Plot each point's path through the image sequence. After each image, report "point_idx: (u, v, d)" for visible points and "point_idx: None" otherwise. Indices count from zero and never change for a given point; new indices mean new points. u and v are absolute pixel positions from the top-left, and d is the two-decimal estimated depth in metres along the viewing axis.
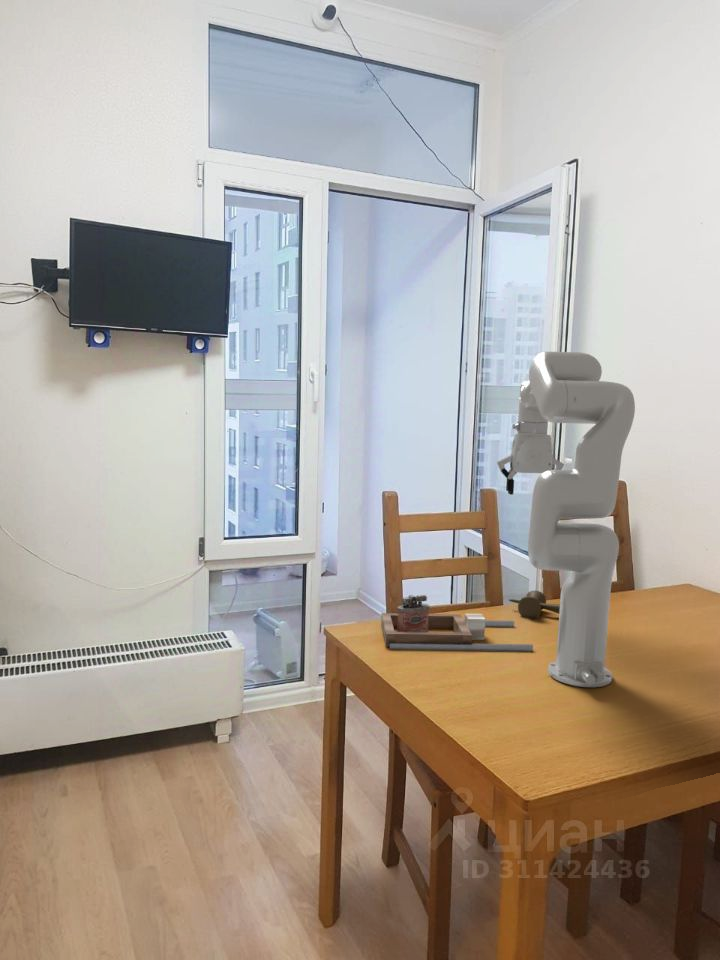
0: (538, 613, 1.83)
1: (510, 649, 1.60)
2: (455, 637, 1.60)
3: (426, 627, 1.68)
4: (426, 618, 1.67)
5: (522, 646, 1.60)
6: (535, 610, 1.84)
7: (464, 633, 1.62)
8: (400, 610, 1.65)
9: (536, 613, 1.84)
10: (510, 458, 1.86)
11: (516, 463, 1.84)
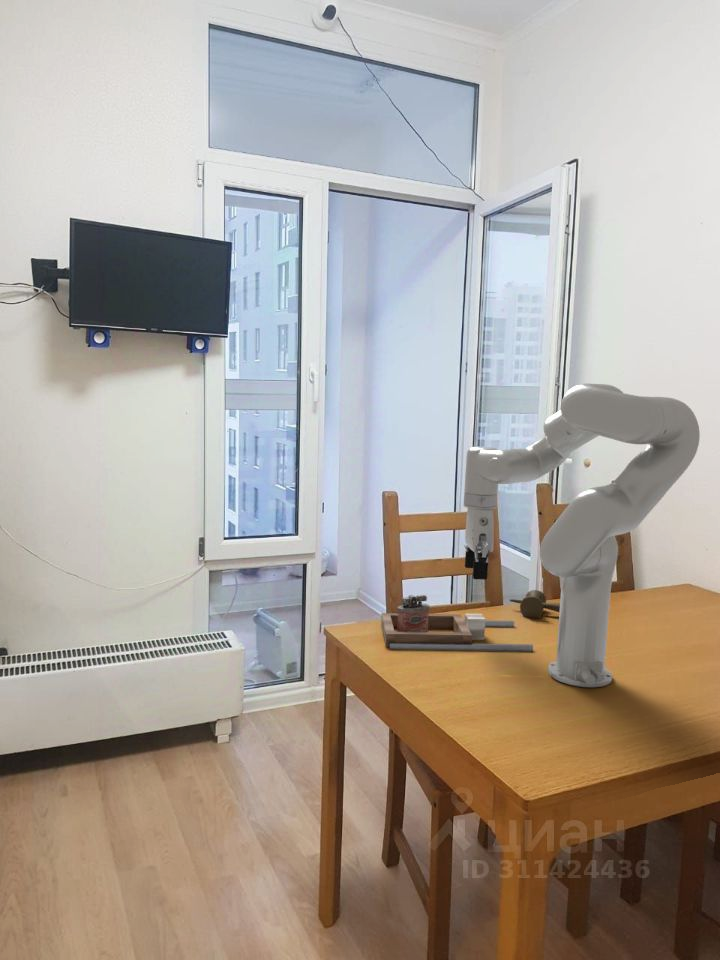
0: (540, 613, 1.84)
1: (510, 649, 1.60)
2: (455, 637, 1.60)
3: (426, 627, 1.68)
4: (426, 618, 1.67)
5: (522, 646, 1.60)
6: (537, 610, 1.84)
7: (464, 633, 1.62)
8: (400, 610, 1.65)
9: (538, 613, 1.84)
10: None
11: None
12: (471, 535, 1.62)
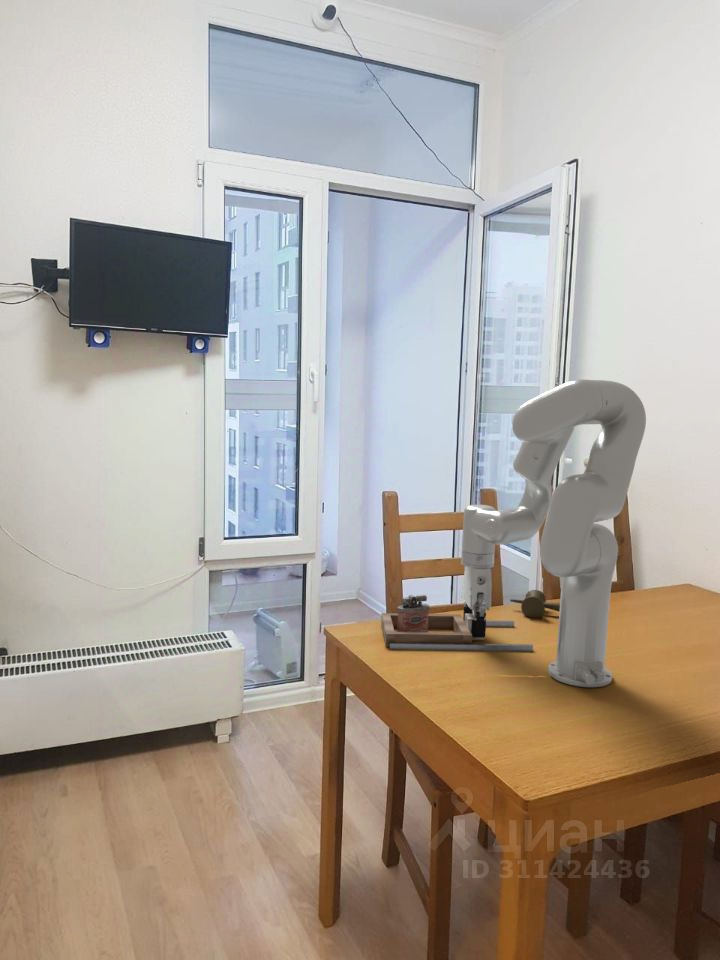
0: (542, 612, 1.84)
1: (510, 649, 1.60)
2: (455, 637, 1.60)
3: (426, 627, 1.68)
4: (426, 618, 1.67)
5: (522, 646, 1.60)
6: (539, 610, 1.84)
7: (464, 633, 1.62)
8: (400, 610, 1.65)
9: (540, 612, 1.84)
10: None
11: (490, 601, 1.63)
12: (469, 593, 1.64)
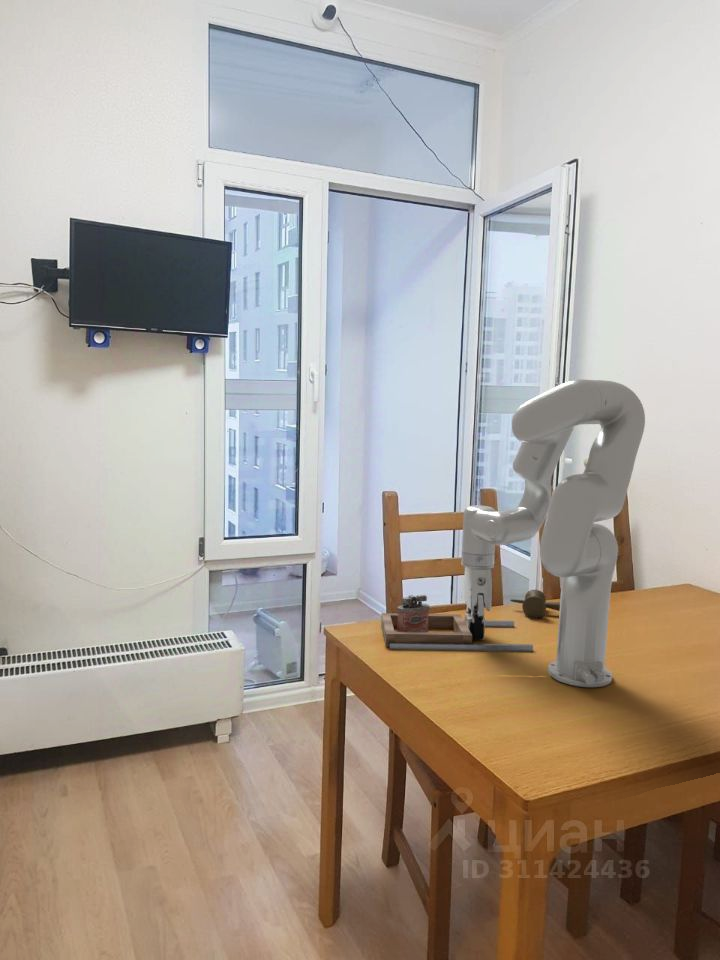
0: (543, 612, 1.84)
1: (510, 649, 1.60)
2: (455, 637, 1.60)
3: (426, 627, 1.68)
4: (426, 618, 1.67)
5: (522, 646, 1.60)
6: (540, 610, 1.84)
7: (464, 633, 1.62)
8: (400, 610, 1.65)
9: (541, 612, 1.84)
10: None
11: None
12: (469, 594, 1.64)
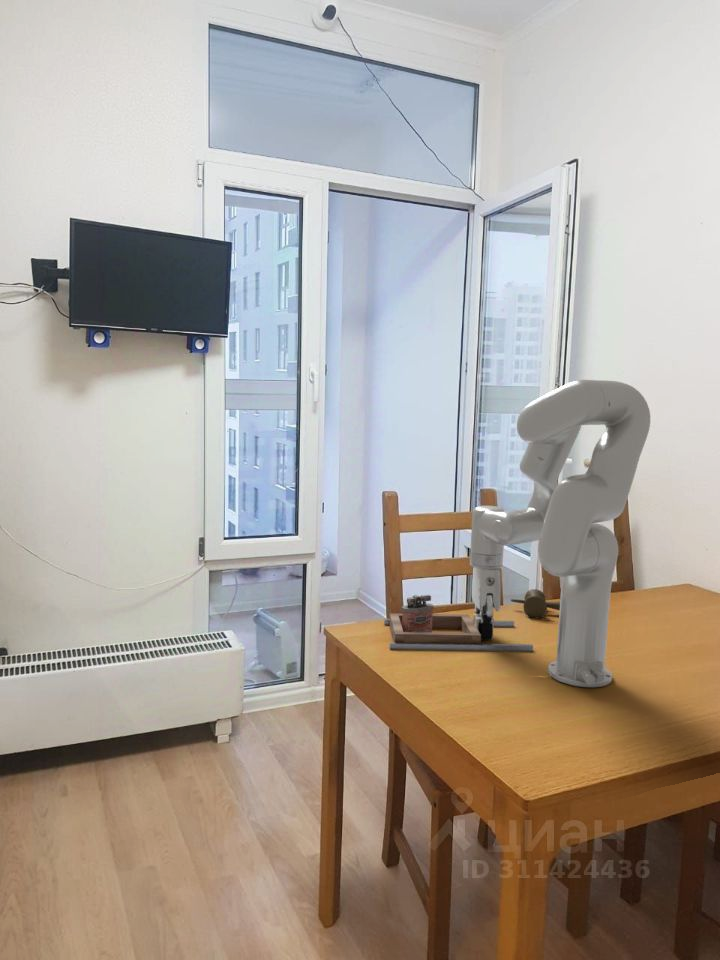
0: (544, 612, 1.85)
1: (510, 649, 1.60)
2: (464, 637, 1.61)
3: (430, 627, 1.68)
4: (430, 618, 1.68)
5: (522, 646, 1.60)
6: (541, 609, 1.85)
7: (473, 633, 1.62)
8: (405, 610, 1.65)
9: (542, 612, 1.85)
10: None
11: None
12: (478, 594, 1.64)
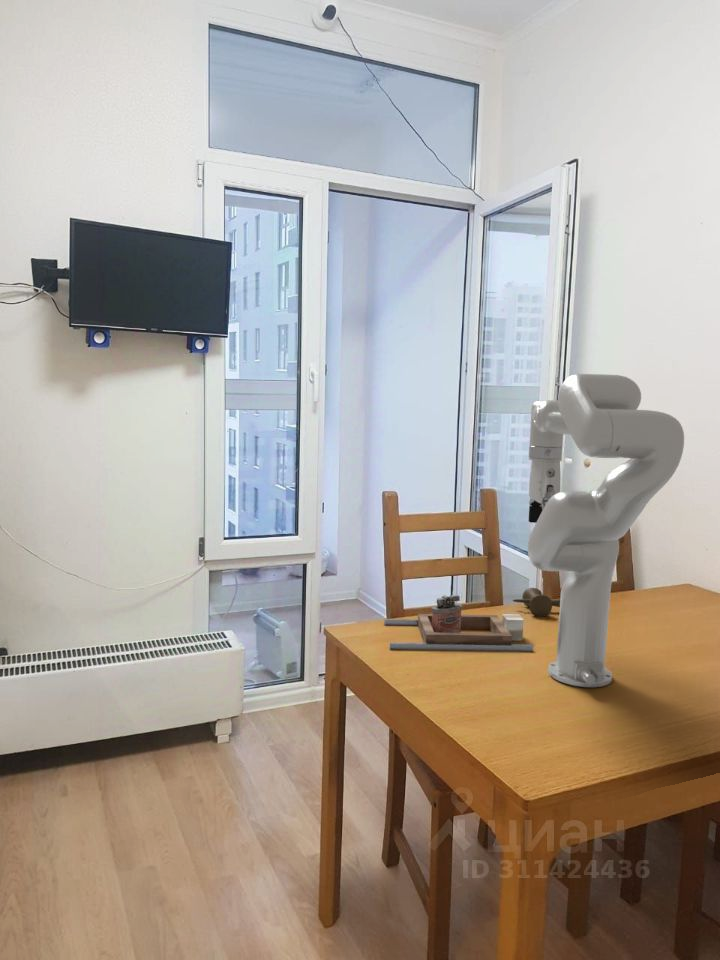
0: (550, 610, 1.86)
1: (510, 649, 1.60)
2: (495, 638, 1.61)
3: (459, 627, 1.69)
4: (459, 618, 1.68)
5: (522, 646, 1.60)
6: (547, 608, 1.86)
7: (503, 633, 1.62)
8: (435, 611, 1.65)
9: (548, 610, 1.86)
10: None
11: None
12: (538, 487, 1.65)
